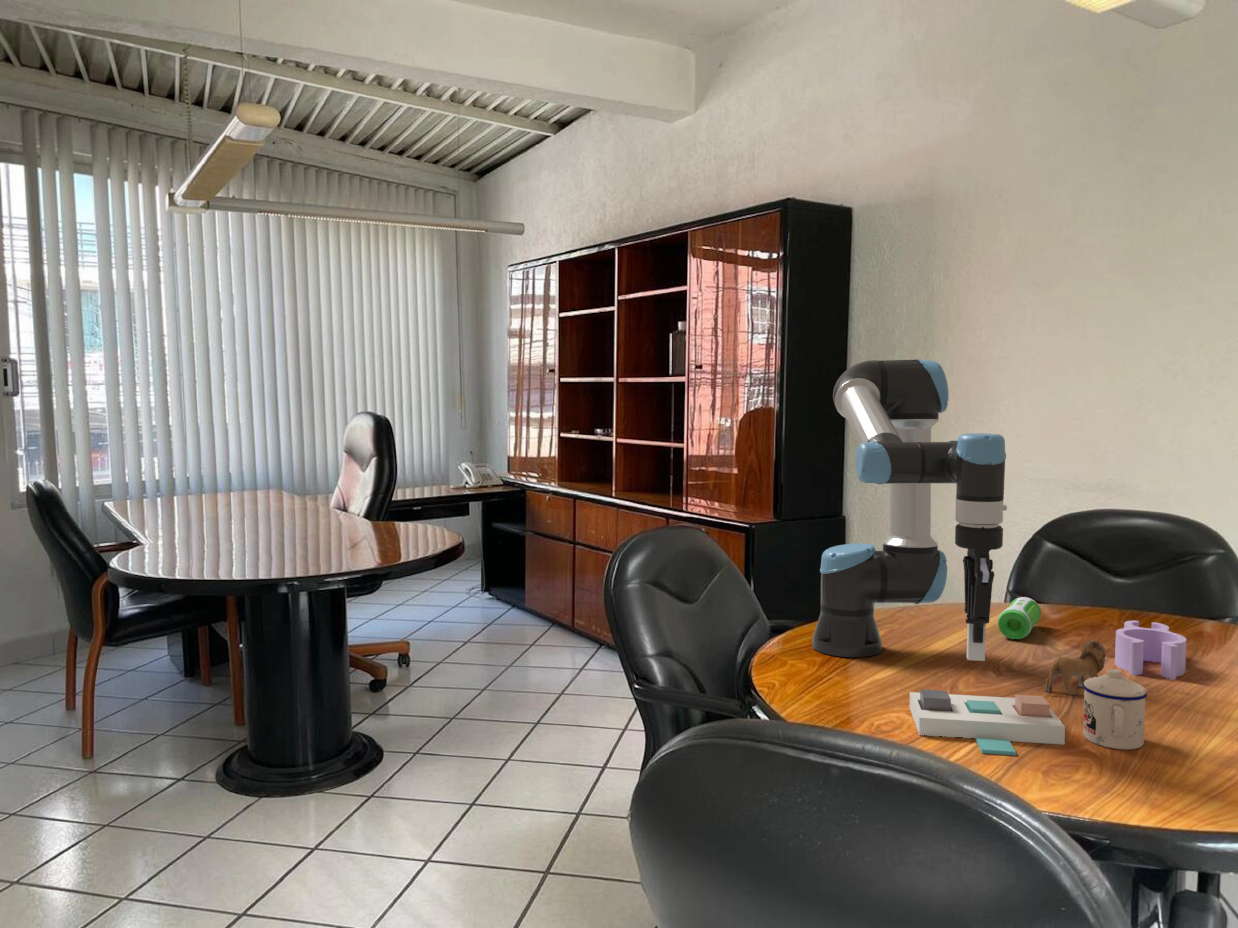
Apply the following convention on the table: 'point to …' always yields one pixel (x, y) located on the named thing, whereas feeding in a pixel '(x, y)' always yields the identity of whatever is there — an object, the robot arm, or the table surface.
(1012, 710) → the button board
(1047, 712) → the terracotta button
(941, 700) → the charcoal button
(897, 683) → the table surface
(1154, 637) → the clip
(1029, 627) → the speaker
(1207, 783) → the table surface
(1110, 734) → the teacup with lid
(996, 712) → the teal button
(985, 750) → the tile
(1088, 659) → the lion figurine
